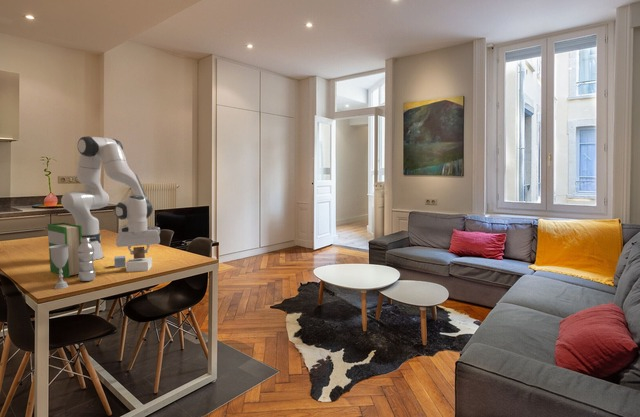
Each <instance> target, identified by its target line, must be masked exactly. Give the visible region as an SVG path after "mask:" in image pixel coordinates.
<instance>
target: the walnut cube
mask: <svg viewBox="0 0 640 417" xmlns="http://www.w3.org/2000/svg"><path fill="white" fill-rule="evenodd" d="M132 247H133V250H132V251H134V254H133V258H134V259H140V258H146V256H145V255H146V253H145V251H144V250H145V246H132Z"/></svg>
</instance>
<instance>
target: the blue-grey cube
mask: <svg viewBox="0 0 640 417" xmlns="http://www.w3.org/2000/svg"><path fill="white" fill-rule="evenodd" d="M113 261H114V269H116V268H126V262H127V261H126V255H120V256H119V255H118V256H116V255H115V256H114V260H113Z"/></svg>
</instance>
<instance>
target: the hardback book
mask: <svg viewBox="0 0 640 417" xmlns="http://www.w3.org/2000/svg"><path fill="white" fill-rule="evenodd" d="M47 235H48V236H47V237H48V239H47V240H48V253H49V254H48V255H49V267H50V269H49V272H50V273H53V274H54V275H58V276H59V275H60V274H59V268H58V267H56V266H55V264H54V263H53V261H52V259H51V251H50V248H49V247H50V246H55V245H69V247H68V256H69V257H68V260H67V262H66V264H65V266H64V267H62V271H63V272H62V275H63V278H66V279H68V278H70V276H75V275H79V266H80V263H79V262H80V261H79V256H78V251H77V250H78V247H79V246H80V244H81V242H80V238H82V227H81V226H80V225H76V223H75V224H74V223H68V222H57V223H48V224H47Z"/></svg>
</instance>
